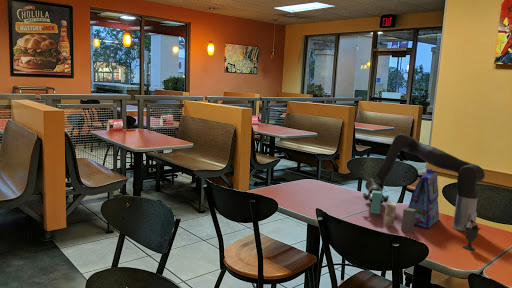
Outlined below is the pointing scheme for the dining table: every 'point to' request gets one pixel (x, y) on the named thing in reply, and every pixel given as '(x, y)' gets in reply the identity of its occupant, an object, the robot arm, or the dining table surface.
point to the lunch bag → (426, 200)
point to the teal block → (376, 201)
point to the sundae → (471, 233)
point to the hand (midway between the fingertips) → (376, 201)
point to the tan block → (390, 214)
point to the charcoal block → (408, 220)
